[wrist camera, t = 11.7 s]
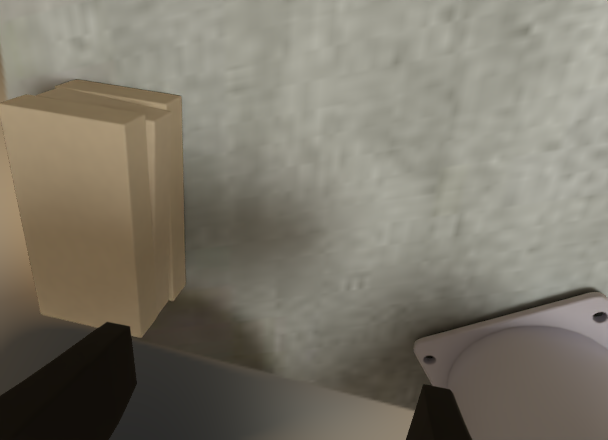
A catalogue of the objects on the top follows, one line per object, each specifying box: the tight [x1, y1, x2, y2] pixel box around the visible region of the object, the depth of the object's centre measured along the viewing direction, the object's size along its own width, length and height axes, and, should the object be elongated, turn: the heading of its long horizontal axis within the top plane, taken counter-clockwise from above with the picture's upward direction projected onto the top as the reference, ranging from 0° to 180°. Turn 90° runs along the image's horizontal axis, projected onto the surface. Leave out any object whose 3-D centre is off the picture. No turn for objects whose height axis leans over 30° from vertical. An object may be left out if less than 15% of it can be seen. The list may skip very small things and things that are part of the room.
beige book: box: [36, 88, 172, 315], centre depth 20 cm, size 9×5×1 cm, turn 171°
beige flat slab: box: [0, 94, 157, 338], centre depth 18 cm, size 9×5×1 cm, turn 174°
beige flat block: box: [55, 79, 186, 301], centre depth 21 cm, size 9×5×1 cm, turn 174°
